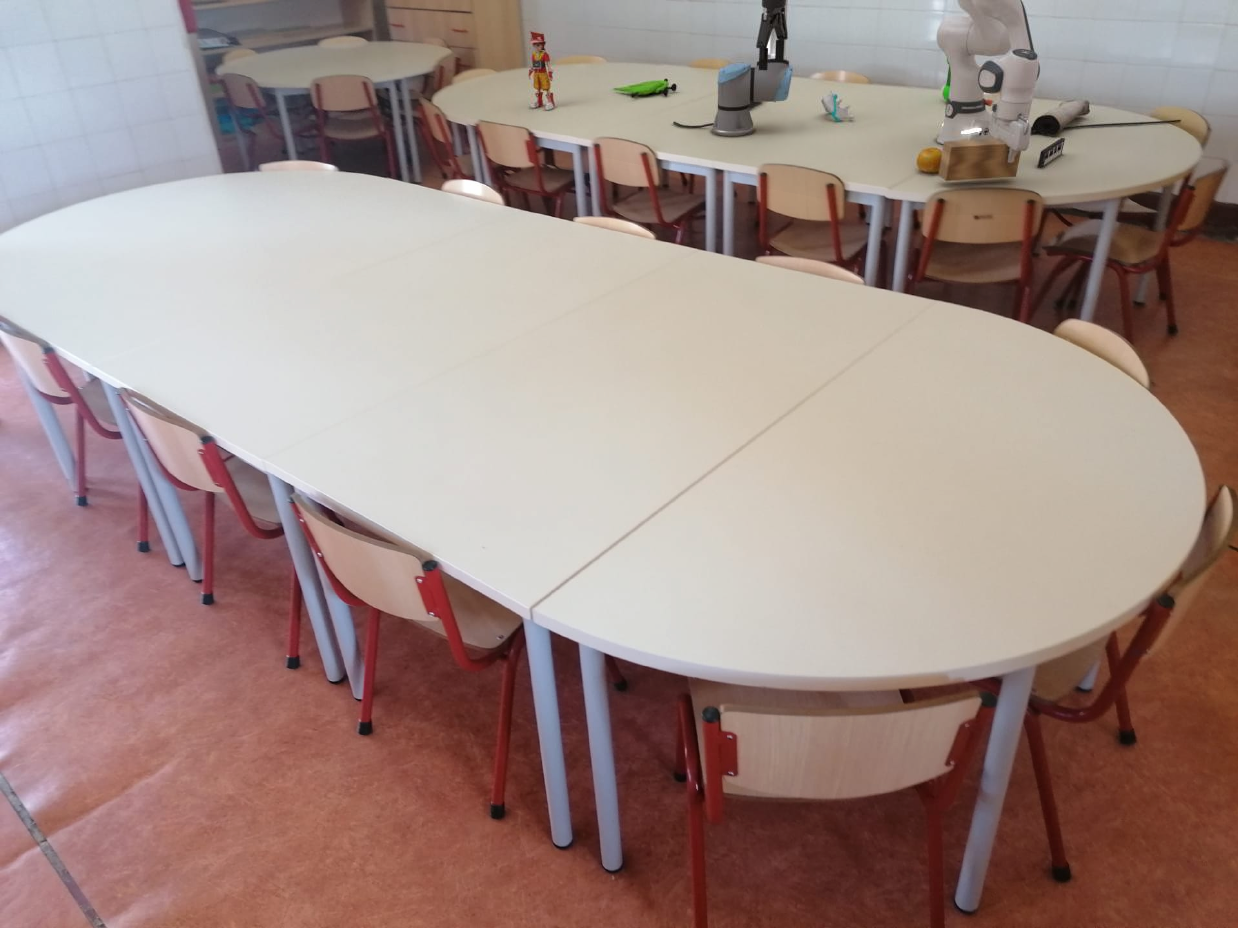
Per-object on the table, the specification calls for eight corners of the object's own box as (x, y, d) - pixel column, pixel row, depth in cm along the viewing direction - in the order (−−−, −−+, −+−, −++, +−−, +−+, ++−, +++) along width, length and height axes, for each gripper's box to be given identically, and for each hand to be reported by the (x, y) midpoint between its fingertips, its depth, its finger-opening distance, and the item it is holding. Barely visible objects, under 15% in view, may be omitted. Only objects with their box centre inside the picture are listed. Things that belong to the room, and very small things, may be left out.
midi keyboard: (1041, 167, 283) (1045, 151, 280) (1037, 167, 283) (1040, 151, 280) (1062, 154, 293) (1065, 138, 290) (1057, 153, 294) (1061, 137, 291)
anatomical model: (816, 90, 346) (842, 83, 346) (819, 117, 352) (844, 110, 352) (827, 99, 334) (853, 92, 333) (830, 127, 340) (856, 120, 339)
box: (945, 181, 270) (951, 147, 265) (938, 175, 275) (943, 141, 270) (1016, 177, 271) (1023, 142, 265) (1007, 171, 276) (1014, 137, 270)
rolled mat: (1057, 104, 331) (1081, 87, 323) (1070, 125, 332) (1095, 108, 324) (1024, 126, 314) (1049, 109, 306) (1039, 148, 314) (1064, 131, 306)
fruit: (910, 163, 282) (927, 140, 279) (912, 165, 290) (928, 143, 287) (933, 178, 281) (950, 155, 278) (933, 180, 289) (950, 157, 286)
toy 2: (686, 85, 398) (631, 84, 414) (685, 72, 395) (629, 72, 411) (651, 104, 381) (596, 103, 397) (650, 92, 378) (594, 91, 394)
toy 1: (525, 109, 381) (517, 32, 364) (534, 104, 388) (527, 28, 371) (550, 110, 377) (543, 32, 360) (559, 105, 384) (553, 28, 367)
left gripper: (769, -1, 270) (767, 74, 282) (800, -13, 287) (796, 58, 300) (747, -1, 274) (745, 73, 286) (778, -13, 291) (775, 57, 303)
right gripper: (1040, 118, 254) (1029, 167, 262) (1010, 102, 271) (1001, 148, 279) (1018, 120, 254) (1008, 169, 262) (989, 103, 271) (981, 150, 279)
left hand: (771, 66), depth 293 cm, fingers open, 13 cm apart
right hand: (1004, 158), depth 271 cm, fingers closed on box, 6 cm apart
